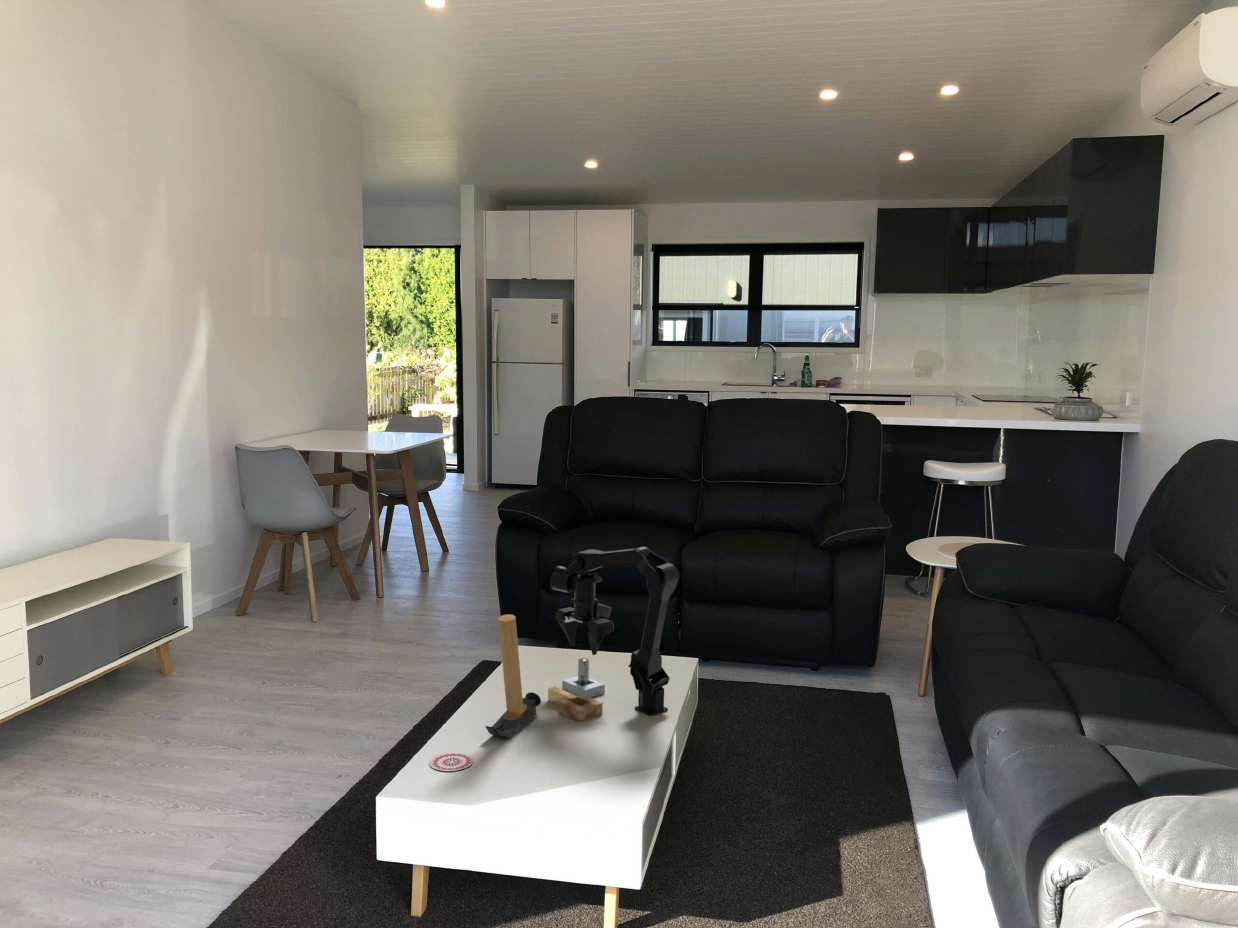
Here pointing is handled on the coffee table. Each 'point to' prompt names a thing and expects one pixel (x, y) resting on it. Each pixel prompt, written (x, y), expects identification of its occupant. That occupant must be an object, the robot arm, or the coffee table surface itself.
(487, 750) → the coffee table surface
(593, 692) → the light blue rectangular frame
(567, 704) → the socket block
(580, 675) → the peg
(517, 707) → the hammer
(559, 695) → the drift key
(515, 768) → the coffee table surface
